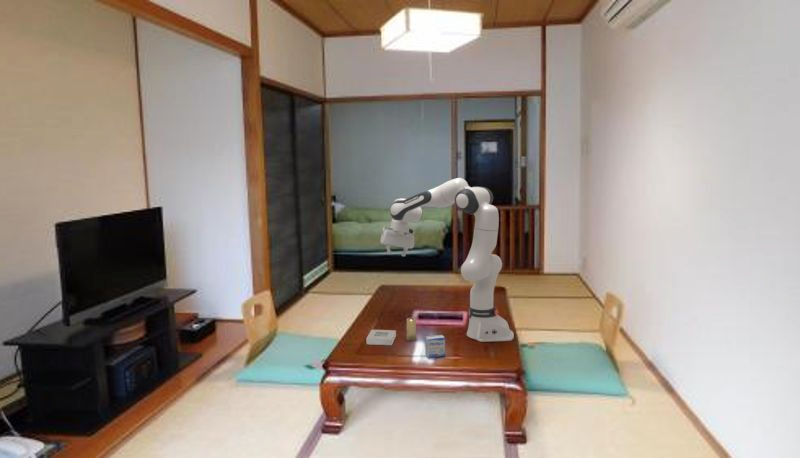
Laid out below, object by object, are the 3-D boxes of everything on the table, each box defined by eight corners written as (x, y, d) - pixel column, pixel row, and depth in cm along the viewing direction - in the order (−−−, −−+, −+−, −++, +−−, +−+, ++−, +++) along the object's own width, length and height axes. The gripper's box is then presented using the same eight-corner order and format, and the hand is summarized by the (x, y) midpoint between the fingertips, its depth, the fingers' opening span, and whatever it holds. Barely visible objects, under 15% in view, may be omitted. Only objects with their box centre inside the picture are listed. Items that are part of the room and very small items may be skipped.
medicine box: (428, 358, 239) (428, 339, 237) (425, 354, 243) (424, 336, 242) (445, 356, 241) (445, 337, 239) (441, 352, 245) (441, 334, 244)
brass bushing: (416, 337, 264) (416, 317, 263) (415, 341, 260) (415, 320, 258) (407, 337, 265) (407, 317, 263) (406, 340, 261) (405, 320, 259)
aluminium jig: (395, 336, 267) (395, 330, 266) (391, 345, 255) (391, 339, 254) (371, 335, 268) (371, 329, 268) (366, 344, 257) (366, 338, 256)
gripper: (386, 226, 282) (383, 252, 280) (417, 231, 294) (414, 257, 292) (379, 226, 287) (376, 252, 285) (409, 231, 299) (407, 257, 297)
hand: (396, 255), depth 289 cm, fingers open, 8 cm apart
